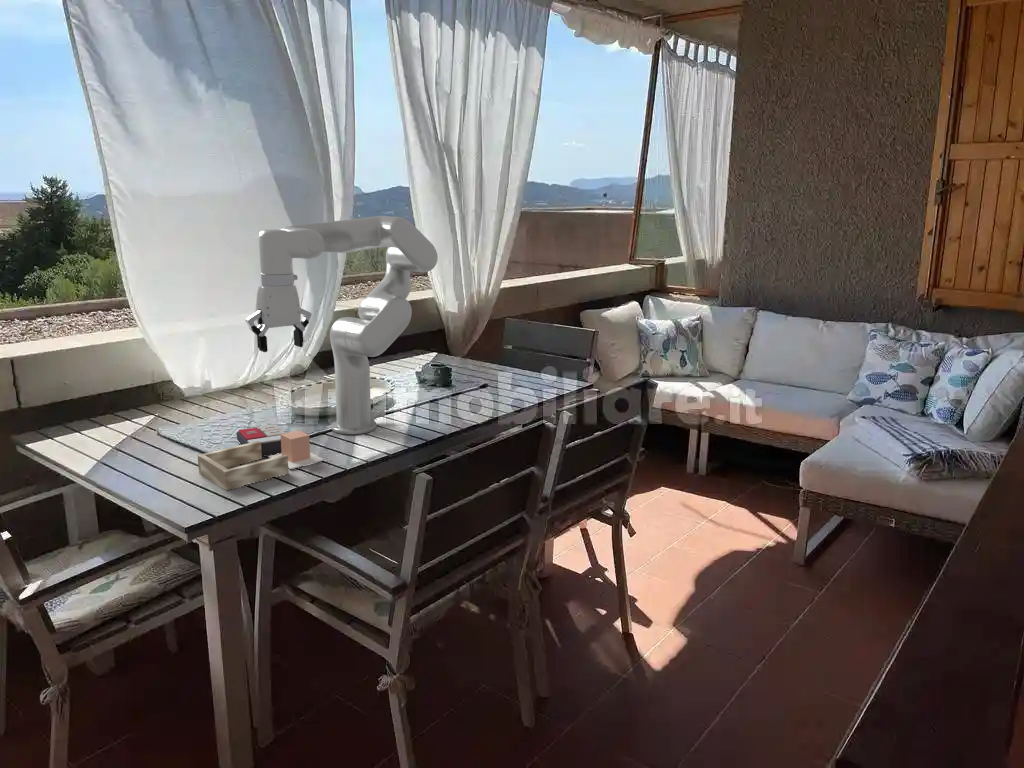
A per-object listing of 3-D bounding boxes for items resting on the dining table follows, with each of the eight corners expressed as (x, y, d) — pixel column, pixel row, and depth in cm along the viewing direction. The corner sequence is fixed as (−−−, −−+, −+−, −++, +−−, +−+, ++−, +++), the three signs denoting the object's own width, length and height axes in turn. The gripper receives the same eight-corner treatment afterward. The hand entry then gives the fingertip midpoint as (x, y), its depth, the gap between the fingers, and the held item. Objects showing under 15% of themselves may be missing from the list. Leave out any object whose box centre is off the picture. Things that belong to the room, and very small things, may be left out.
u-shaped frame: (259, 458, 183) (258, 441, 182) (288, 473, 174) (287, 456, 173) (199, 473, 173) (197, 455, 172) (226, 490, 163) (224, 472, 162)
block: (299, 452, 186) (298, 430, 185) (310, 457, 183) (309, 435, 181) (281, 457, 183) (280, 434, 181) (292, 462, 179) (290, 439, 178)
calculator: (277, 423, 200) (293, 436, 188) (278, 438, 201) (294, 452, 189) (235, 428, 195) (248, 442, 182) (237, 444, 196) (250, 459, 183)
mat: (300, 450, 190) (300, 448, 189) (323, 461, 182) (323, 459, 182) (268, 458, 183) (268, 456, 183) (290, 470, 176) (290, 468, 176)
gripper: (301, 277, 189) (304, 342, 193) (236, 281, 177) (241, 350, 181) (316, 279, 184) (319, 346, 188) (251, 284, 172) (256, 355, 176)
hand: (281, 348), depth 185 cm, fingers open, 9 cm apart
